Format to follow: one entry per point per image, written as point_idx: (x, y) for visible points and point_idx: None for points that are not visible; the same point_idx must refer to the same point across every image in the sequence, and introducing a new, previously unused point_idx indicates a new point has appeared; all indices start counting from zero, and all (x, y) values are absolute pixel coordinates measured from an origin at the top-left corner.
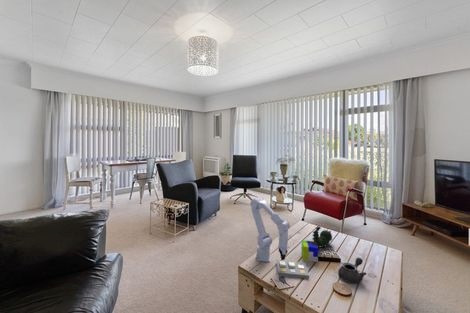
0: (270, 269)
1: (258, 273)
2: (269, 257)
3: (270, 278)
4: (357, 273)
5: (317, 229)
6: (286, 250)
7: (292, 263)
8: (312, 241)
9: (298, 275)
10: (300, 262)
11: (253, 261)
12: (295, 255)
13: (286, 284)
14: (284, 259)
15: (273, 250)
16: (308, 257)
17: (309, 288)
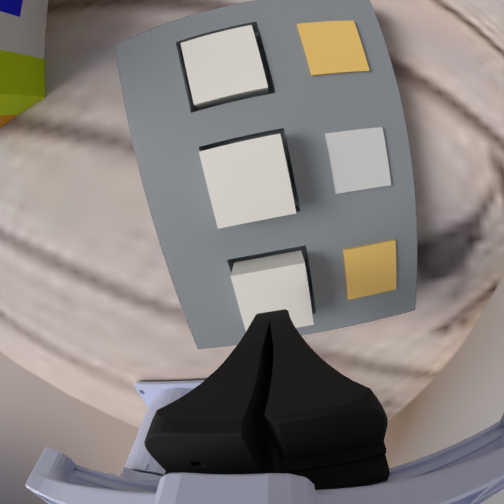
0: (330, 360)
1: (391, 404)
2: (179, 396)
3: (440, 334)
4: None
5: None
6: (306, 433)
7: (233, 172)
8: None
9: (395, 97)
10: (123, 88)
11: None
12: (14, 180)
13: (488, 214)
14: (287, 312)
15: (52, 353)
16: (25, 52)
17: (474, 41)
